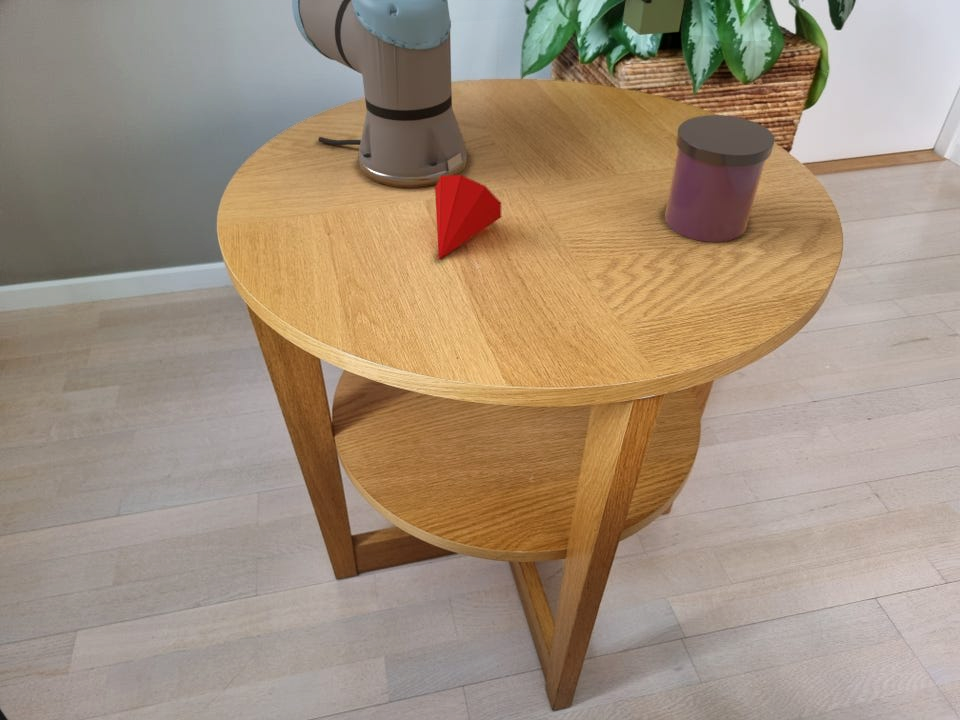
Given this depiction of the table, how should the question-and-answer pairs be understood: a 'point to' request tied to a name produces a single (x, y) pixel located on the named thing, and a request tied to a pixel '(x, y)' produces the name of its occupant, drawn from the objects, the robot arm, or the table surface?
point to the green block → (653, 16)
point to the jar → (716, 176)
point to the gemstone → (462, 211)
